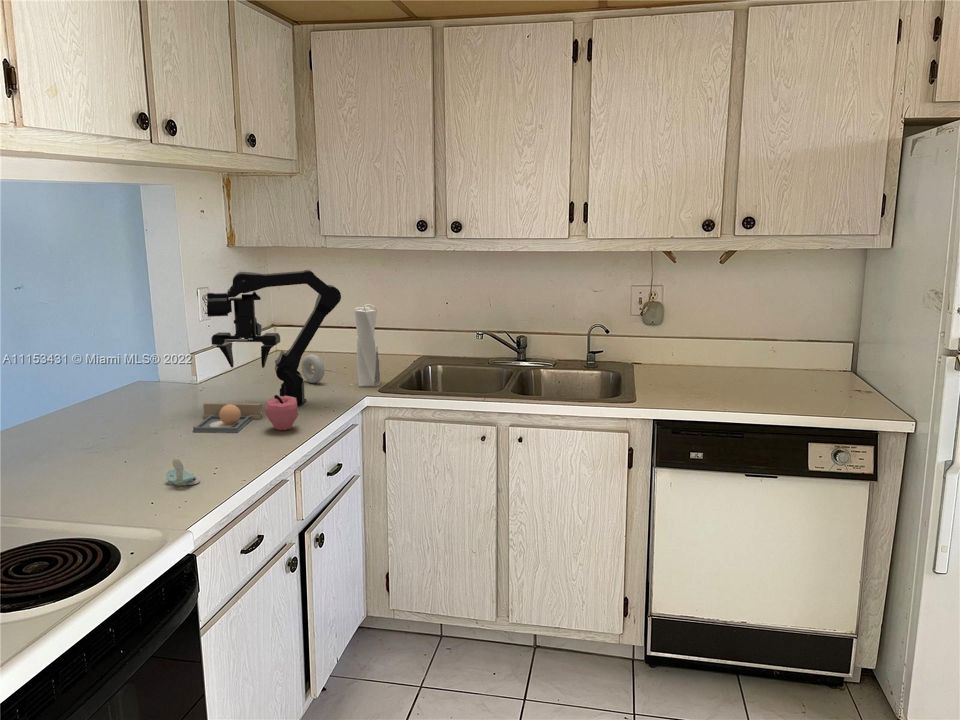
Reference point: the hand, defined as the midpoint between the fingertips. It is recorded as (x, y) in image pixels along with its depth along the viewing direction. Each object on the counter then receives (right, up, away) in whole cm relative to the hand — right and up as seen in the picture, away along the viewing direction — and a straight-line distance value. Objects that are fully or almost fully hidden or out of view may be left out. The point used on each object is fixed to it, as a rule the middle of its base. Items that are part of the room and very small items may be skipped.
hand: (247, 367), depth 215 cm
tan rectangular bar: (-1, -14, -9) cm, 17 cm away
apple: (+16, -17, -19) cm, 30 cm away
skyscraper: (+31, -7, +30) cm, 44 cm away
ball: (+1, -13, -18) cm, 22 cm away
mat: (-1, -16, -17) cm, 23 cm away
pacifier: (+5, -25, -57) cm, 62 cm away
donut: (+12, -6, +32) cm, 35 cm away
